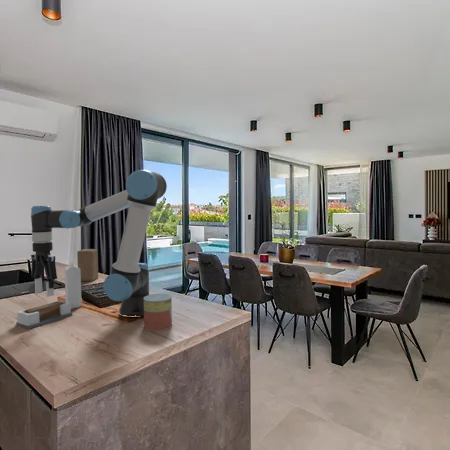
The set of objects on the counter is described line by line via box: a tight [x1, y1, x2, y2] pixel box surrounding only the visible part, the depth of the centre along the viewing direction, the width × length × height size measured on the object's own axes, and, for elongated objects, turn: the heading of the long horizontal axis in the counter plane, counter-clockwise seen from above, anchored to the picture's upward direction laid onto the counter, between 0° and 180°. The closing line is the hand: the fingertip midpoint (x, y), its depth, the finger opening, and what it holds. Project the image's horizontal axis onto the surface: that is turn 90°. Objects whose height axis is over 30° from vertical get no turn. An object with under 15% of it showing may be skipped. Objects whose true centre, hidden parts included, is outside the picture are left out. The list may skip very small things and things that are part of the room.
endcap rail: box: [15, 300, 73, 330], centre depth 144 cm, size 10×19×6 cm, turn 150°
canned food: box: [143, 293, 173, 332], centre depth 135 cm, size 11×11×12 cm
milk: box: [64, 261, 83, 310], centre depth 162 cm, size 6×6×22 cm
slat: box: [24, 300, 63, 321], centre depth 144 cm, size 4×15×5 cm, turn 150°
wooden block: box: [76, 248, 99, 282], centre depth 220 cm, size 10×10×20 cm
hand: (44, 294), depth 143 cm, fingers open, 8 cm apart
